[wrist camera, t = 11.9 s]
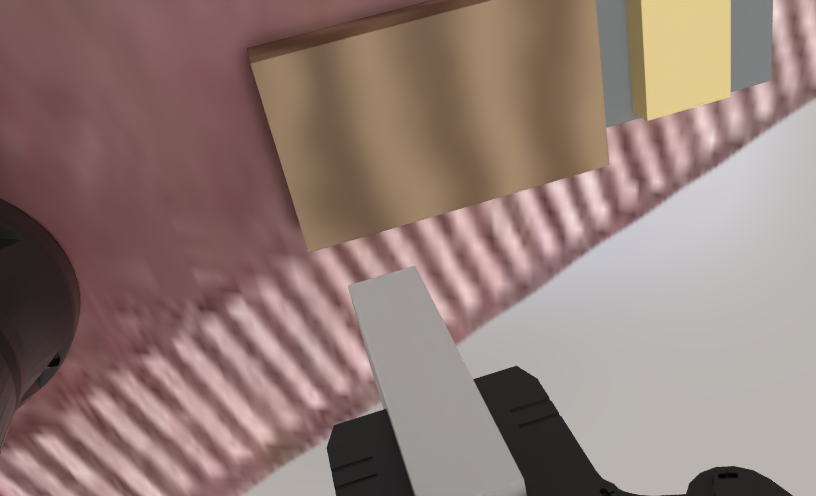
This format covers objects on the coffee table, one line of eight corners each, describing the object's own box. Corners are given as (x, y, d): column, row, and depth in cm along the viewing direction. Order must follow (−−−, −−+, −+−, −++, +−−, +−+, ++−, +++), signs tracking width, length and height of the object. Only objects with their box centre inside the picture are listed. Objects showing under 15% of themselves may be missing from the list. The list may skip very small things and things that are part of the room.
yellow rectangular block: (647, 120, 50) (632, 112, 52) (730, 96, 51) (713, 89, 53) (640, -20, 46) (624, -24, 48) (730, -44, 47) (712, -47, 48)
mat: (581, 132, 52) (584, 133, 52) (563, -52, 46) (566, -51, 46) (767, 79, 54) (770, 80, 53) (771, -105, 48) (775, -105, 48)
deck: (301, 226, 51) (308, 252, 47) (247, 48, 45) (250, 63, 41) (582, 145, 53) (609, 165, 49) (565, -35, 47) (593, -27, 43)
